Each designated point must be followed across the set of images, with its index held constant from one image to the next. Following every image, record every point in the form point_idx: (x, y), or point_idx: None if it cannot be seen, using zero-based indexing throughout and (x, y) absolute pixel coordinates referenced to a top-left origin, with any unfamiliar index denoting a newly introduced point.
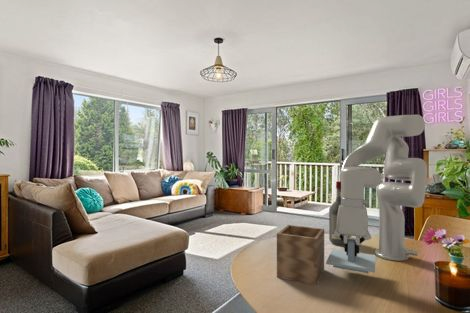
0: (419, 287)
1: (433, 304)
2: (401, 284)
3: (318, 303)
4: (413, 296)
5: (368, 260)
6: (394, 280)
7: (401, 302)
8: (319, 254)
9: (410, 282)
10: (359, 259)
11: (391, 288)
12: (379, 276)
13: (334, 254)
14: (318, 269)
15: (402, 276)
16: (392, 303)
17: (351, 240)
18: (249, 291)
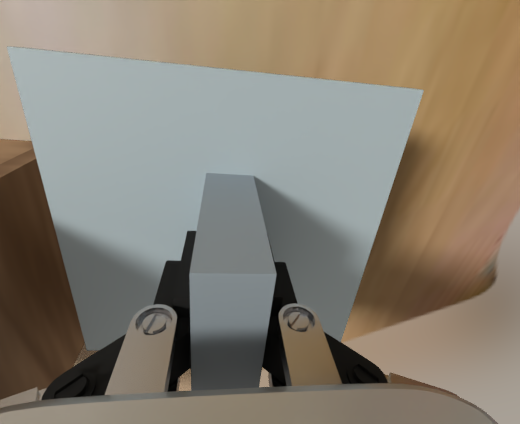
0: (502, 176)
1: (470, 284)
2: (439, 175)
3: None
4: (435, 259)
5: (334, 235)
6: (426, 141)
7: (378, 307)
8: (16, 379)
9: (493, 135)
10: (277, 242)
11: (381, 229)
12: None
13: (87, 216)
14: (69, 327)
15: (495, 64)
16: (349, 321)
17: (222, 381)
18: None
